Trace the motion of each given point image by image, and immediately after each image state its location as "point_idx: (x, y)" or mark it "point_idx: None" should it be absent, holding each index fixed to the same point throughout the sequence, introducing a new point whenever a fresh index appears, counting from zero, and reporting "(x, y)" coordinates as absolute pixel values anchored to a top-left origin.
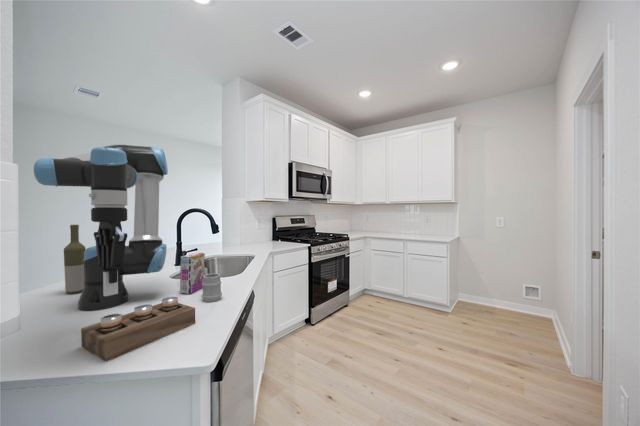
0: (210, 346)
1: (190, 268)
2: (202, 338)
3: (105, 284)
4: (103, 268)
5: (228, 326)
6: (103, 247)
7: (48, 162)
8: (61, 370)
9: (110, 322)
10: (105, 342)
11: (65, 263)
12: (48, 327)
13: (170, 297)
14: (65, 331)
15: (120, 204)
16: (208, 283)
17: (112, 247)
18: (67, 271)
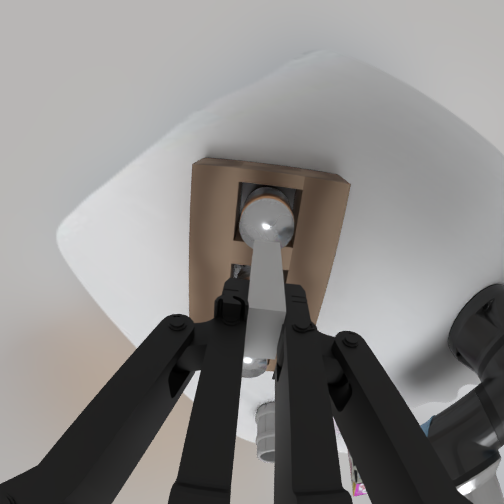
0: (90, 276)
1: (352, 460)
2: (125, 293)
3: (256, 265)
4: (289, 325)
5: (129, 339)
6: (294, 472)
7: None
8: (259, 99)
9: (243, 210)
10: (196, 163)
11: None
12: (489, 212)
13: (256, 371)
14: (447, 211)
15: None
16: (269, 438)
17: (91, 447)
18: None
